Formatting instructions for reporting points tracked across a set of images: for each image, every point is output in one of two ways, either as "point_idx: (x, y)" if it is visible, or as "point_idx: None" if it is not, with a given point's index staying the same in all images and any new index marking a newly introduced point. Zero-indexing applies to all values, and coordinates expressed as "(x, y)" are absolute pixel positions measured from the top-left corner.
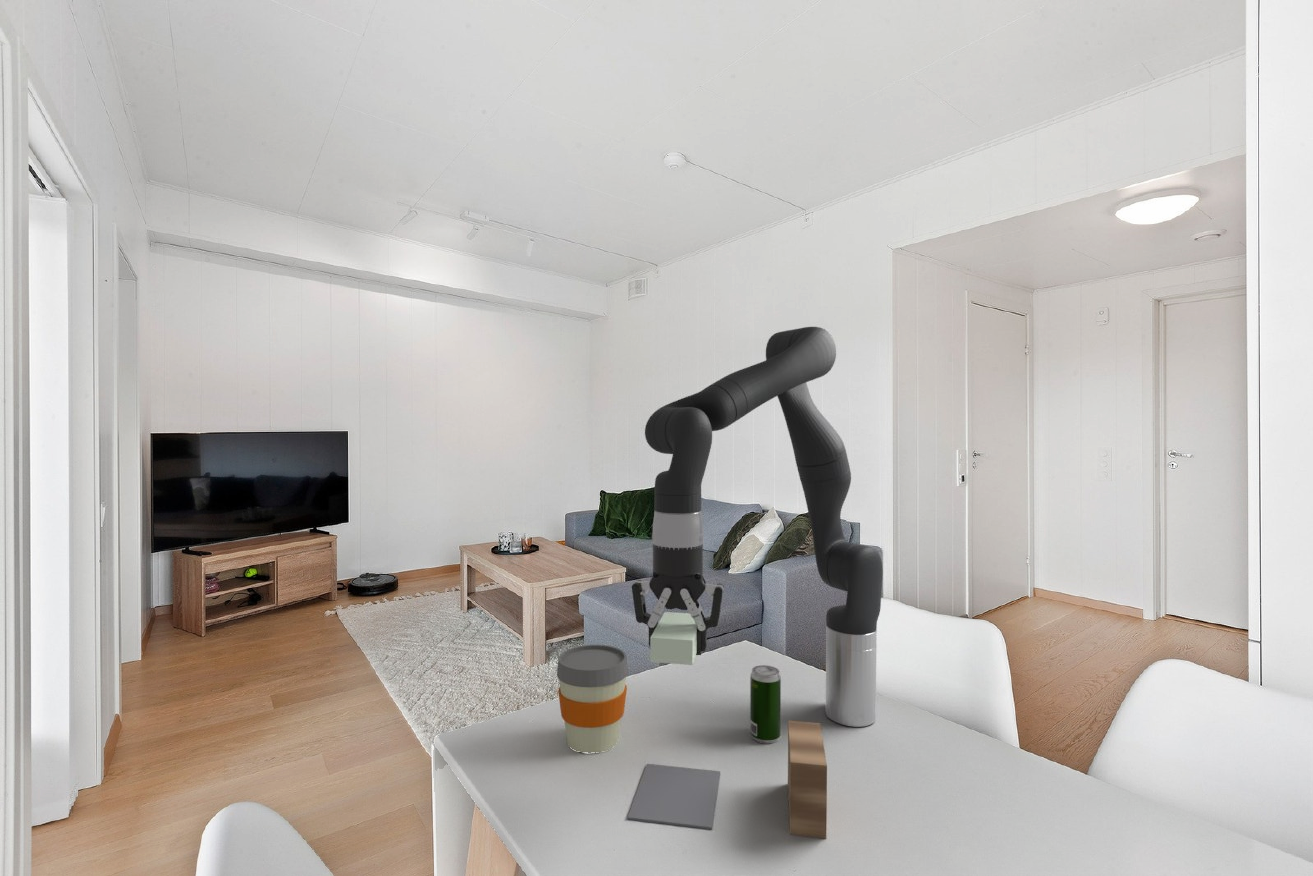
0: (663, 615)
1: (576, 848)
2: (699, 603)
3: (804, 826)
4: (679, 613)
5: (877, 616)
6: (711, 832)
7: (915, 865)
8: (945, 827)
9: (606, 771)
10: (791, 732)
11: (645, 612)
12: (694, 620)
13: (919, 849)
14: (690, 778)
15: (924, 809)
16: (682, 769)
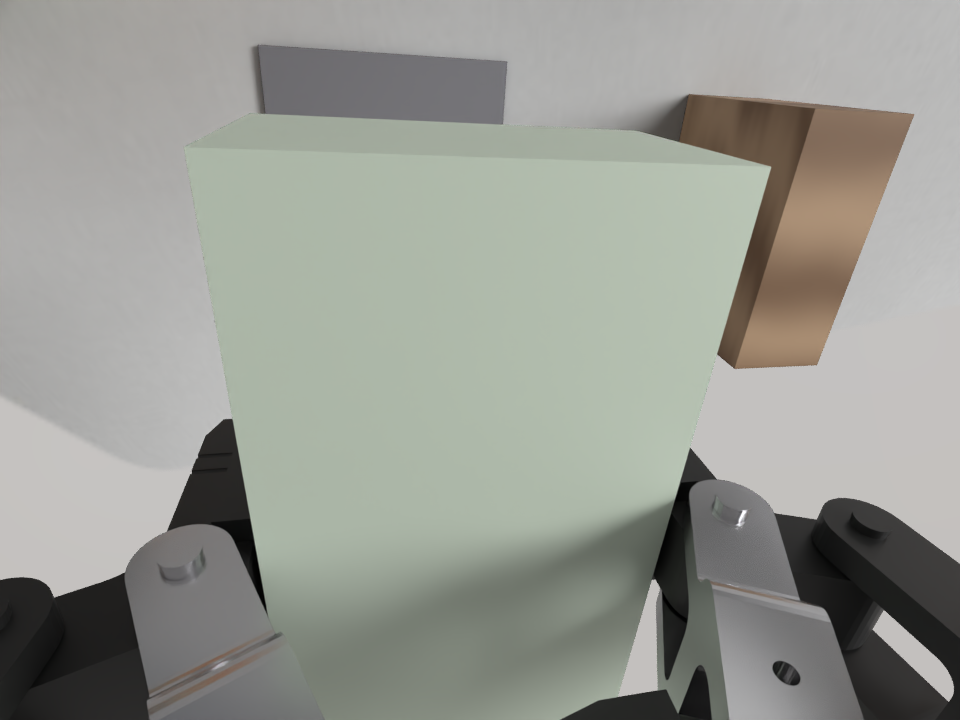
0: (229, 336)
1: (212, 420)
2: (836, 674)
3: None
4: (451, 190)
5: None
6: None
7: (831, 331)
8: (949, 215)
9: (130, 103)
10: (794, 203)
11: (33, 700)
12: (661, 675)
13: (862, 289)
14: (419, 119)
15: (950, 157)
16: (387, 68)
